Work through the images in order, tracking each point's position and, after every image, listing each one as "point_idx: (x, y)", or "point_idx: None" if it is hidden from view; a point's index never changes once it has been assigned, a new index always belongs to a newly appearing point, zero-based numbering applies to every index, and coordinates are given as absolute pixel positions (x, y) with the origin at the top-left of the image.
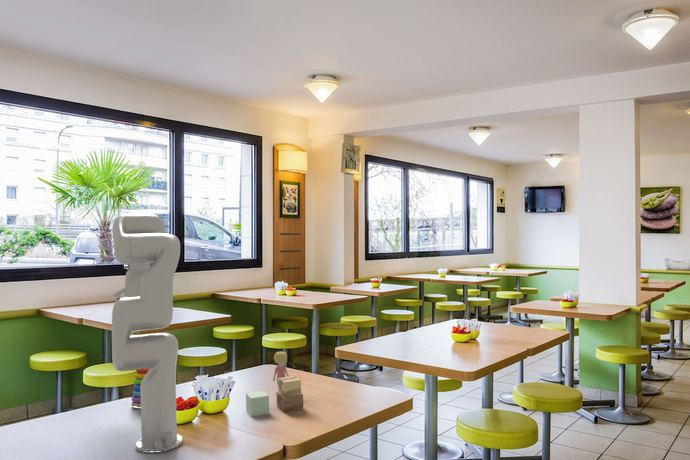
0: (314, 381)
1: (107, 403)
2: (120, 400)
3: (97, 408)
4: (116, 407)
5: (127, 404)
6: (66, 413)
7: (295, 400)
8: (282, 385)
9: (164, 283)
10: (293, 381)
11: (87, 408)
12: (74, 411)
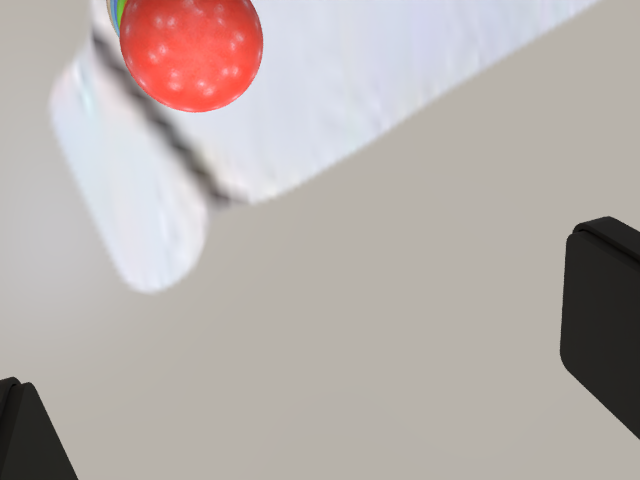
0: None
1: (367, 131)
2: (311, 164)
3: (408, 57)
4: (321, 39)
5: (270, 77)
6: (532, 24)
7: None
8: None
9: None
10: None
11: (450, 75)
12: (501, 45)
